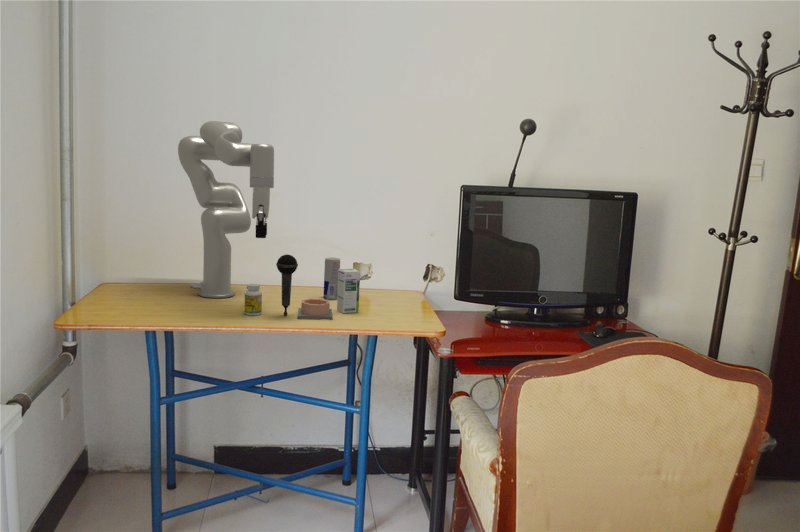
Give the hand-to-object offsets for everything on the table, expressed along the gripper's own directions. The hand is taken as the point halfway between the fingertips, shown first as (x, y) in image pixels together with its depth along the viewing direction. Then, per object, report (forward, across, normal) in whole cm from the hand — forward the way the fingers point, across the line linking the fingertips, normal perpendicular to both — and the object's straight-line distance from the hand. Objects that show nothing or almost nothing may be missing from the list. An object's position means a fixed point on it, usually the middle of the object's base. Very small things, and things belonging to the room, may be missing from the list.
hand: (261, 236), depth 214 cm
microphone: (+25, +5, +8) cm, 27 cm away
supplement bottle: (+25, +3, -2) cm, 25 cm away
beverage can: (+25, -23, +25) cm, 42 cm away
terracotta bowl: (+25, +4, +18) cm, 31 cm away
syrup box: (+26, -3, +29) cm, 39 cm away
